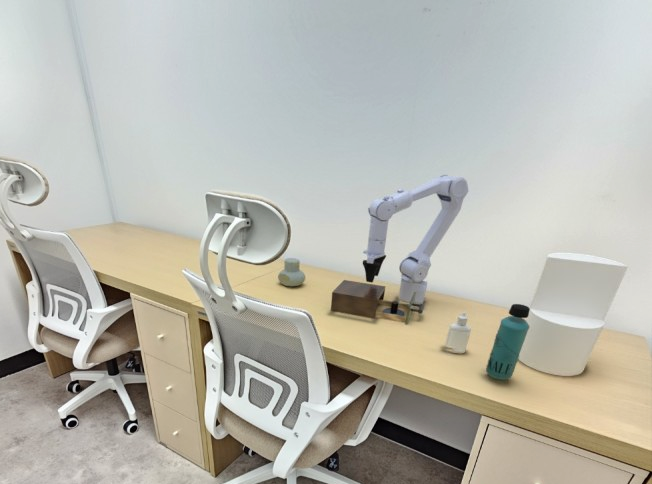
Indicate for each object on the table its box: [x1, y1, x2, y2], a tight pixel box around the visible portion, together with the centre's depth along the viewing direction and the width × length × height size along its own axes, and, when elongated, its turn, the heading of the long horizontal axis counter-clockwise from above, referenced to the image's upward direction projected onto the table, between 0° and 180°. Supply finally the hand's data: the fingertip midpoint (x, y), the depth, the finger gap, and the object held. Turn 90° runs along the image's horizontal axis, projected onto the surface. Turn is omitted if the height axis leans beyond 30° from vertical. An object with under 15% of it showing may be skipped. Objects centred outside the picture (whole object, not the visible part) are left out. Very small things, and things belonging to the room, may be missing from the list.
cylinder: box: [518, 251, 629, 377], centre depth 104 cm, size 17×17×28 cm
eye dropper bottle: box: [444, 311, 472, 354], centre depth 111 cm, size 4×6×12 cm
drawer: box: [375, 292, 426, 325], centre depth 131 cm, size 18×14×7 cm
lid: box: [383, 300, 404, 316], centre depth 131 cm, size 7×7×4 cm
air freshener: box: [277, 257, 306, 288], centre depth 156 cm, size 11×8×10 cm
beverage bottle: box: [485, 303, 530, 380], centre depth 96 cm, size 6×7×20 cm
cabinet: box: [330, 279, 387, 319], centre depth 135 cm, size 15×14×8 cm
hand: (372, 278), depth 136 cm, fingers open, 7 cm apart
